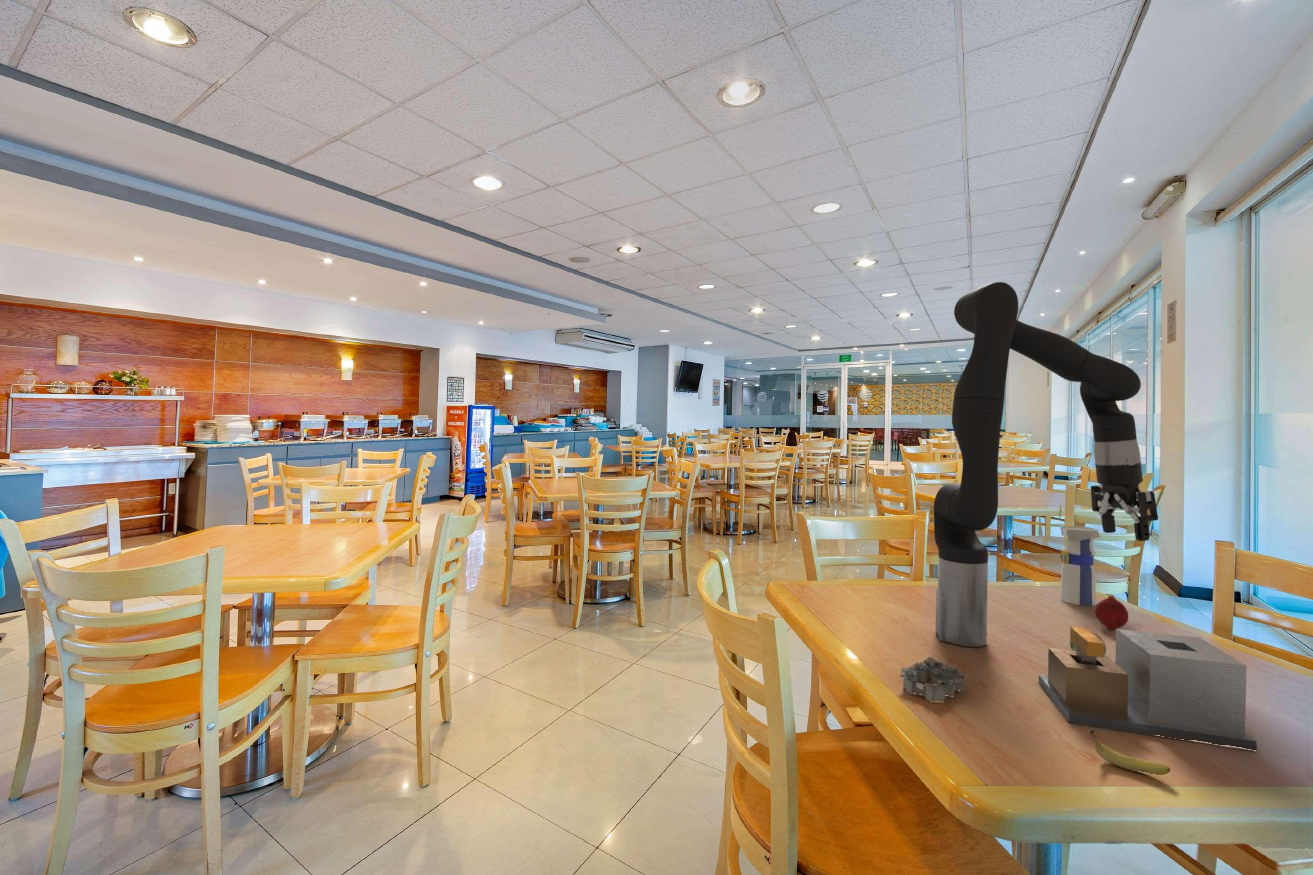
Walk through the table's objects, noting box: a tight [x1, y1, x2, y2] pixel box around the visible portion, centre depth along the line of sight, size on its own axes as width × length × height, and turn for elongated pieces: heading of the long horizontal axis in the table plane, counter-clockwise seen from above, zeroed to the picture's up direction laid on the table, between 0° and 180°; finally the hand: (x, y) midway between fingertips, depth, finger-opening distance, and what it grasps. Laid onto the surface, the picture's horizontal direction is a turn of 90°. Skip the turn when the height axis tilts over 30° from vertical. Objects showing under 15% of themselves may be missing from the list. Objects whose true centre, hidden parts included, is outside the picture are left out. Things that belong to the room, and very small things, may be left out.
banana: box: [1088, 729, 1171, 776], centre depth 72 cm, size 8×2×4 cm, turn 50°
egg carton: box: [900, 656, 969, 702], centre depth 94 cm, size 11×8×4 cm
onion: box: [1094, 593, 1129, 631], centre depth 123 cm, size 6×6×8 cm
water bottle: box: [1058, 505, 1101, 607], centre depth 143 cm, size 8×9×25 cm
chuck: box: [1038, 628, 1258, 752], centre depth 86 cm, size 22×14×12 cm, turn 71°
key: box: [1069, 626, 1106, 665], centre depth 88 cm, size 7×2×8 cm, turn 161°
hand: (1125, 536), depth 117 cm, fingers open, 8 cm apart
